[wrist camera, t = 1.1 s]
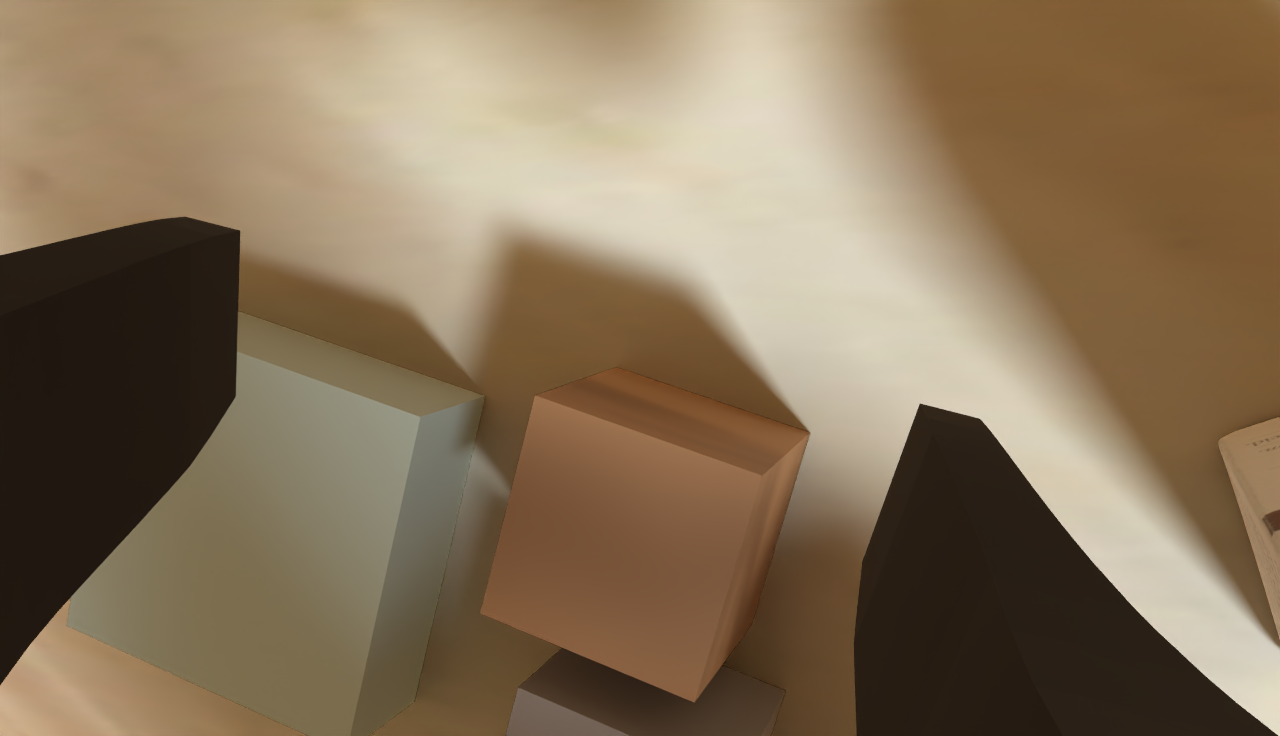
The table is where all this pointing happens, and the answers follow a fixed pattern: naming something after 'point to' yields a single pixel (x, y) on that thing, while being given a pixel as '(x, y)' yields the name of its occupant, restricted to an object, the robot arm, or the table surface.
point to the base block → (299, 539)
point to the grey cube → (637, 704)
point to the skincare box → (1259, 497)
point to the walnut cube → (642, 526)
